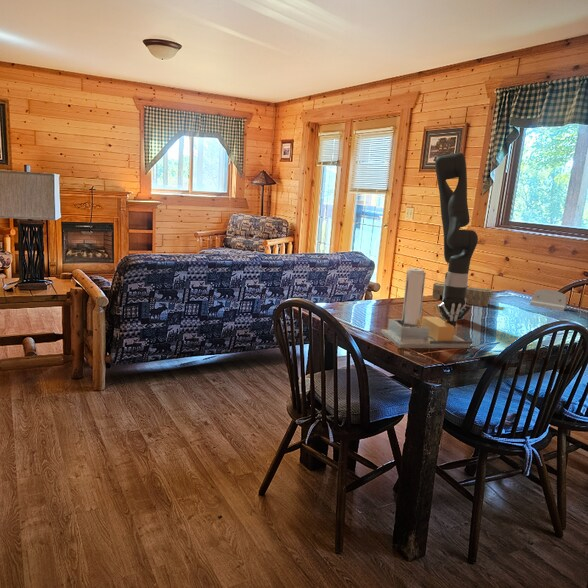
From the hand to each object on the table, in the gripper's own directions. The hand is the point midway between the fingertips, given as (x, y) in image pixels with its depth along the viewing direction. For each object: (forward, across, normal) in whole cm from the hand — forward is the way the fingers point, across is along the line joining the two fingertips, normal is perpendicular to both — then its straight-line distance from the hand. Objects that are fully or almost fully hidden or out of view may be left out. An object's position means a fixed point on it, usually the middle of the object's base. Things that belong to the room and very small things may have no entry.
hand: (450, 330), depth 187 cm
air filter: (+3, +16, 0) cm, 16 cm away
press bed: (+4, +10, 0) cm, 10 cm away
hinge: (+4, -87, -57) cm, 104 cm away
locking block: (+2, +5, 0) cm, 6 cm away
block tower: (+5, -43, -67) cm, 80 cm away
